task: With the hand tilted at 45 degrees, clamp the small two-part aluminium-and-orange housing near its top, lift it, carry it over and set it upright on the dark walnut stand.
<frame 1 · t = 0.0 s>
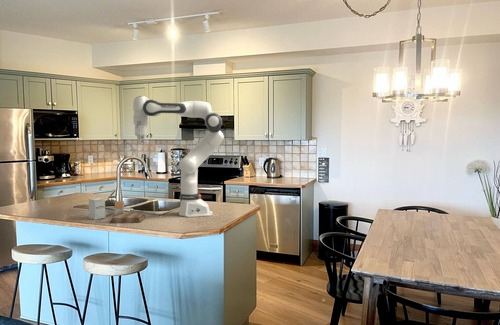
hand: (141, 142, 243), 48 cm above the table, tool pointing down, fingers open, 8 cm apart
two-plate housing: (119, 215, 248), on the table
supplement box: (97, 218, 239), on the table
walnut stand: (128, 219, 234), on the table
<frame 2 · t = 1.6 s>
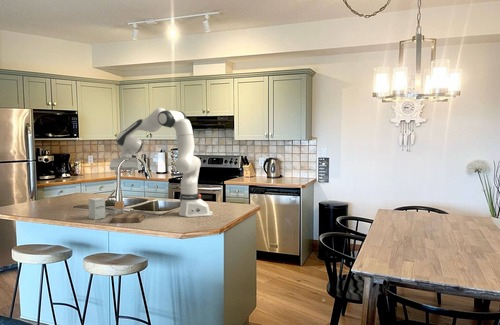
hand: (123, 174, 258), 26 cm above the table, tool tilted 45°, fingers open, 8 cm apart
nothing on the table moved.
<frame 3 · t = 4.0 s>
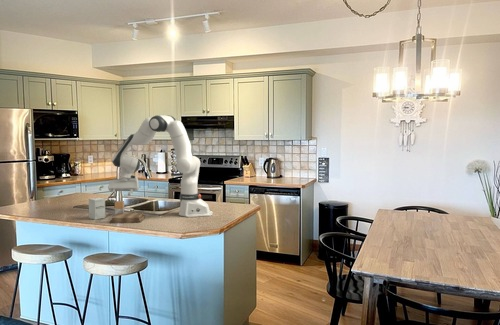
hand: (122, 195, 254), 12 cm above the table, tool tilted 45°, fingers open, 8 cm apart
nothing on the table moved.
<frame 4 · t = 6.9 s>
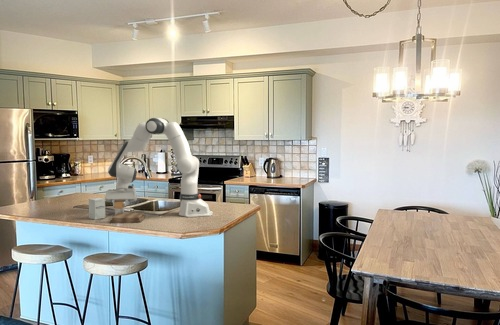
hand: (119, 206, 247), 6 cm above the table, tool tilted 45°, fingers closed on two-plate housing, 5 cm apart
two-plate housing: (119, 214, 248), on the table, touching gripper
everything else where it was.
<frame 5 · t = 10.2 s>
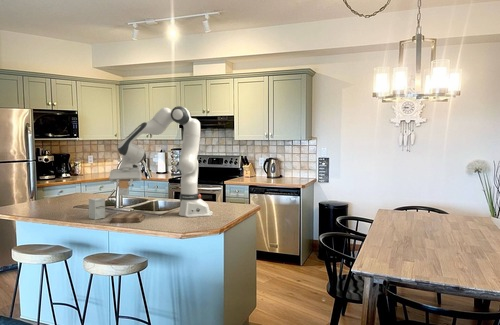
hand: (123, 185, 238), 21 cm above the table, tool tilted 45°, fingers closed on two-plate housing, 5 cm apart
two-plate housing: (124, 194, 239), point 15 cm above the table, touching gripper
everything else where it was.
when the fingers open (10 cm above the table, at t = 13.9 s): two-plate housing drops 1 cm, resting on walnut stand.
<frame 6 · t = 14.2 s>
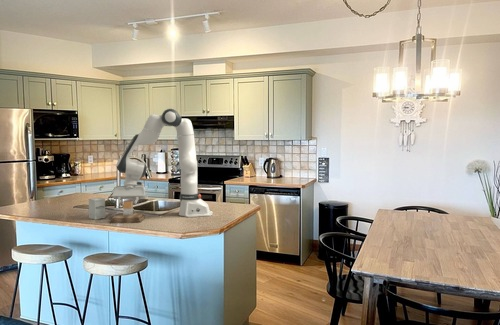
hand: (127, 203, 232), 10 cm above the table, tool tilted 45°, fingers open, 7 cm apart
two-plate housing: (128, 215, 233), point 3 cm above the table, touching walnut stand
everything else where it was.
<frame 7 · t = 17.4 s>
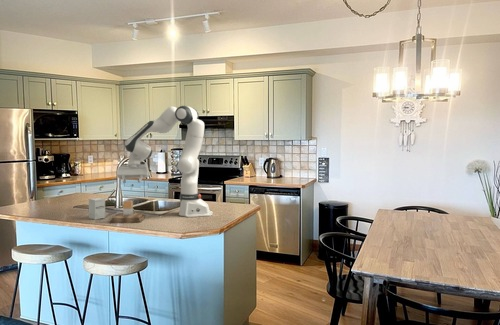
hand: (131, 182, 243), 22 cm above the table, tool tilted 45°, fingers open, 8 cm apart
nothing on the table moved.
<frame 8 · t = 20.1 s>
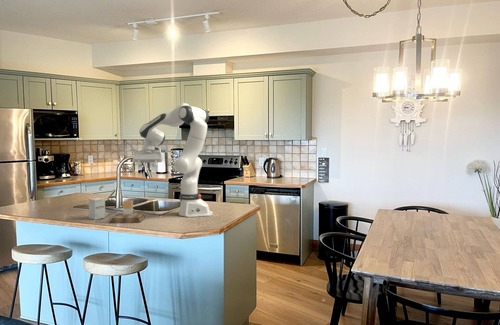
hand: (146, 166, 259), 31 cm above the table, tool tilted 45°, fingers open, 8 cm apart
nothing on the table moved.
at the end: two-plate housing inside the target area on the walnut stand (0.1 cm from its centre), point 3.0 cm above the walnut stand's base; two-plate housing tilted 0°; the gripper is holding nothing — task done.
